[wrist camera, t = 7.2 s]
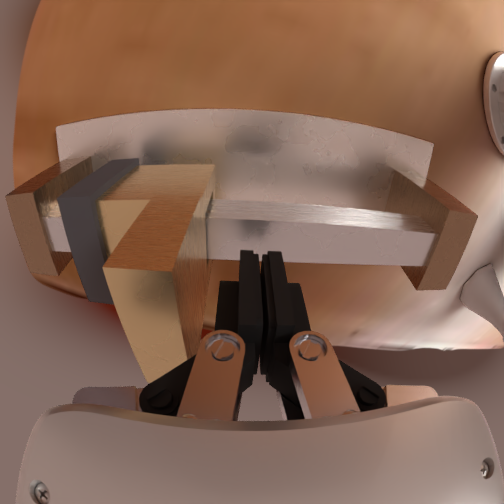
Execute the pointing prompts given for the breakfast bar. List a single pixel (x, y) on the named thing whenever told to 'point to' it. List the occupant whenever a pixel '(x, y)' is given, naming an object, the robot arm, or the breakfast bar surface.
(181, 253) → the wooden block
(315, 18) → the breakfast bar surface
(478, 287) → the flask
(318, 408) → the robot arm
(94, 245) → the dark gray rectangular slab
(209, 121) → the pipe rig
